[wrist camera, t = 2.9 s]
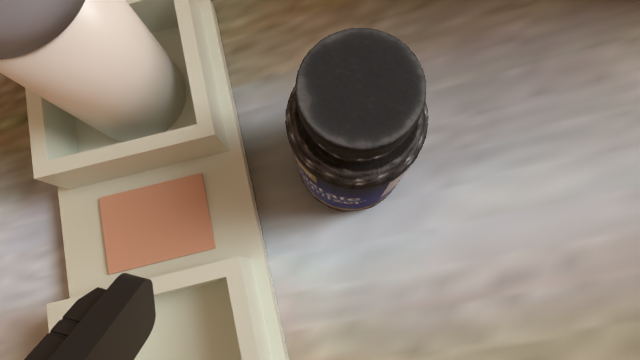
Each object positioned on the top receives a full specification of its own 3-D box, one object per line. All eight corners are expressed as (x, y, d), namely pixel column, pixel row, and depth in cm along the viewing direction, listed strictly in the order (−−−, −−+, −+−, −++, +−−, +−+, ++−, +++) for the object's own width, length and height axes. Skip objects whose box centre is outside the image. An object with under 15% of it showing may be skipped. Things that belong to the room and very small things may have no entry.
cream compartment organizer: (307, 447, 23) (266, 680, 10) (105, 498, 22) (-208, 802, 10) (214, 8, 28) (111, -210, 16) (53, 48, 28) (-185, -140, 15)
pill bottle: (280, 178, 26) (239, 111, 15) (334, 97, 27) (330, -20, 16) (368, 232, 25) (391, 203, 14) (420, 147, 26) (478, 58, 15)
